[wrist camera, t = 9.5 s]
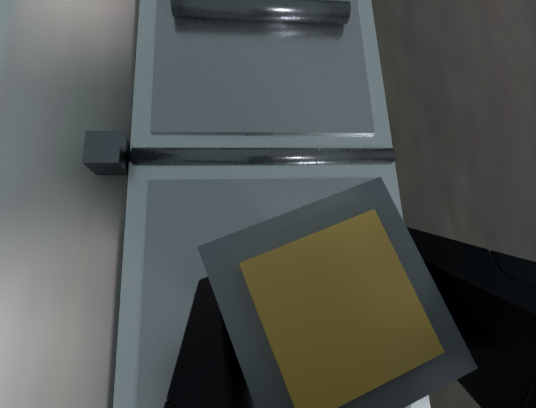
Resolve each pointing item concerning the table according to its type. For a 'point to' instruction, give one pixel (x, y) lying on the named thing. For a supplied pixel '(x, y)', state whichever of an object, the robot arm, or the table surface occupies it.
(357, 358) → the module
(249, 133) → the case
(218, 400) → the robot arm
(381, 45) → the table surface
